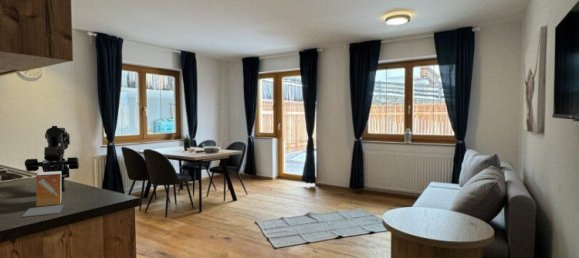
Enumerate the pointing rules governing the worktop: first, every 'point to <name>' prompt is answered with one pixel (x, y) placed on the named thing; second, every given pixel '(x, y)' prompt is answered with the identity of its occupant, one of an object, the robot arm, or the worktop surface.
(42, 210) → the grey square plate
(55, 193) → the small box
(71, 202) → the worktop surface
